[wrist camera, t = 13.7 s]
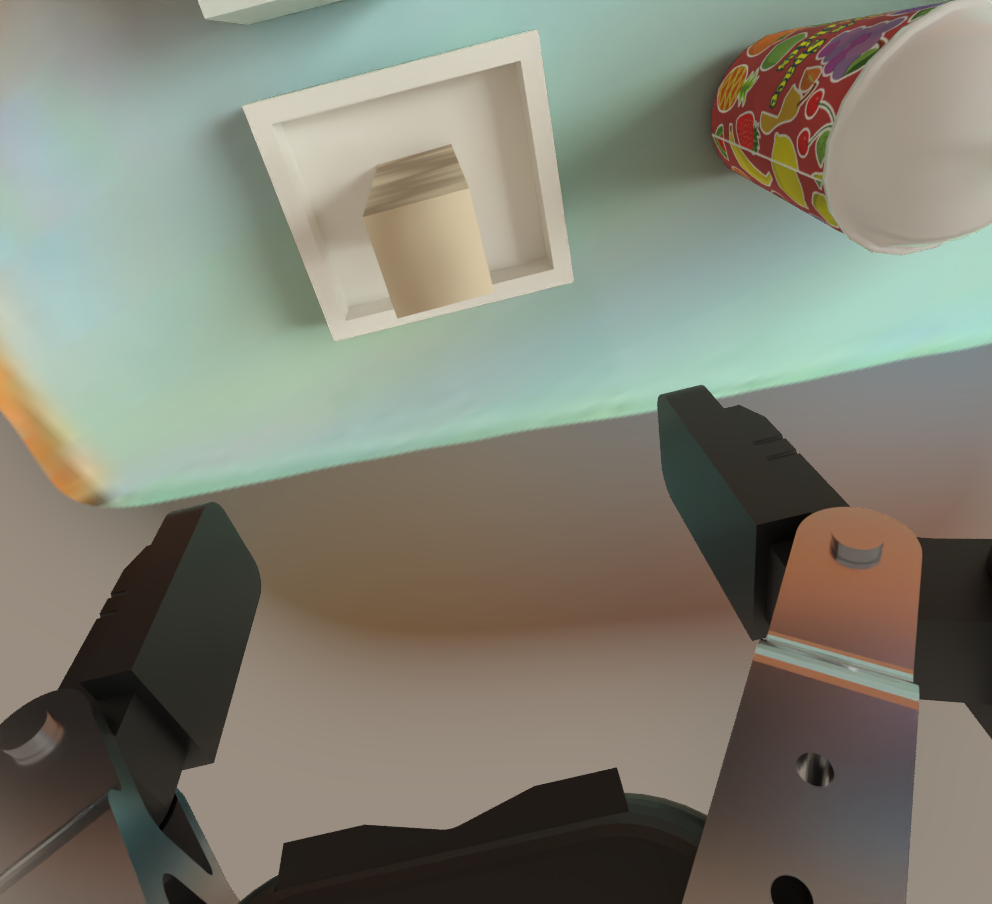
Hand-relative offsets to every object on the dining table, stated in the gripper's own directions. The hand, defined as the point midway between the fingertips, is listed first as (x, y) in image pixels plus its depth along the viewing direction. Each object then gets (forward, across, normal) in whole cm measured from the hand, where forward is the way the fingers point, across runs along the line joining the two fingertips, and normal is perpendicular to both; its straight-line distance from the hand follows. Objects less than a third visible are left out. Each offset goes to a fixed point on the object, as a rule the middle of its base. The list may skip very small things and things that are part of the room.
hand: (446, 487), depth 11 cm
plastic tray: (+28, 0, 0) cm, 28 cm away
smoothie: (+28, -19, 0) cm, 34 cm away
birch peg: (+27, 0, 0) cm, 27 cm away
